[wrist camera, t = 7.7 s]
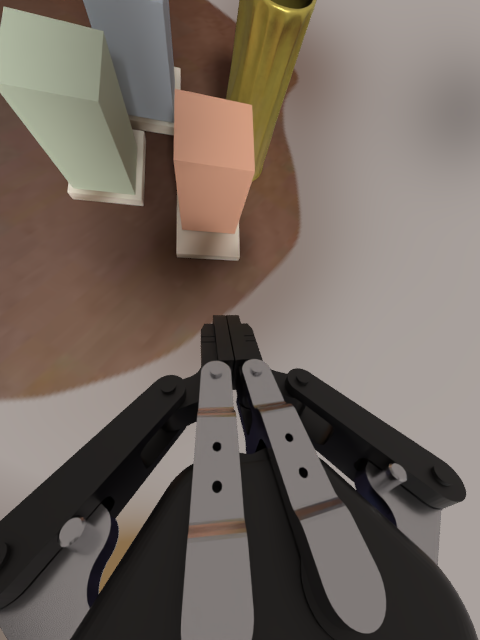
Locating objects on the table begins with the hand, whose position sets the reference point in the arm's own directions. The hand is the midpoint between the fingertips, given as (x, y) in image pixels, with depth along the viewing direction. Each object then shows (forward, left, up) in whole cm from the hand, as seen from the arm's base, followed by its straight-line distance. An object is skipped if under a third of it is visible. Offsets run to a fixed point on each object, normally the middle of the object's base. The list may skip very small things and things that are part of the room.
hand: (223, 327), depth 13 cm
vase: (+4, +23, -12) cm, 26 cm away
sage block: (-11, +19, -10) cm, 24 cm away
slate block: (-7, +29, -10) cm, 31 cm away
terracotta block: (0, +15, -10) cm, 18 cm away
